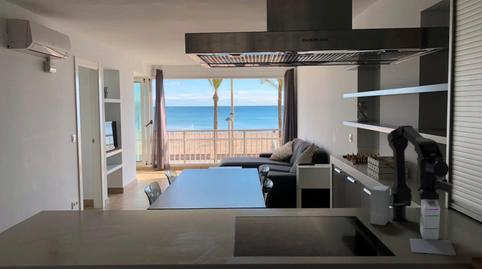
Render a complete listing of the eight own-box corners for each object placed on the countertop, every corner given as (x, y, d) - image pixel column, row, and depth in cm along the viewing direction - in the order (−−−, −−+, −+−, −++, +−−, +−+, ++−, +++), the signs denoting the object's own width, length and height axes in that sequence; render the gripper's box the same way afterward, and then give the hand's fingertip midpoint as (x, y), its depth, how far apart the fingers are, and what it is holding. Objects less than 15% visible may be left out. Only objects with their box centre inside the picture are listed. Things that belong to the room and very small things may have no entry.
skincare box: (375, 219, 190) (374, 184, 189) (391, 221, 185) (390, 185, 185) (369, 223, 183) (368, 188, 182) (385, 226, 179) (385, 189, 178)
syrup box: (438, 239, 158) (441, 207, 152) (422, 239, 159) (424, 207, 153) (435, 230, 163) (437, 198, 157) (419, 230, 164) (420, 198, 159)
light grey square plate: (409, 239, 160) (409, 238, 160) (450, 241, 155) (450, 240, 155) (411, 252, 146) (411, 251, 146) (456, 255, 141) (456, 254, 141)
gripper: (454, 177, 150) (454, 220, 150) (447, 169, 167) (447, 208, 168) (420, 176, 153) (421, 218, 154) (417, 169, 171) (417, 207, 172)
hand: (428, 213), depth 162 cm, fingers closed
